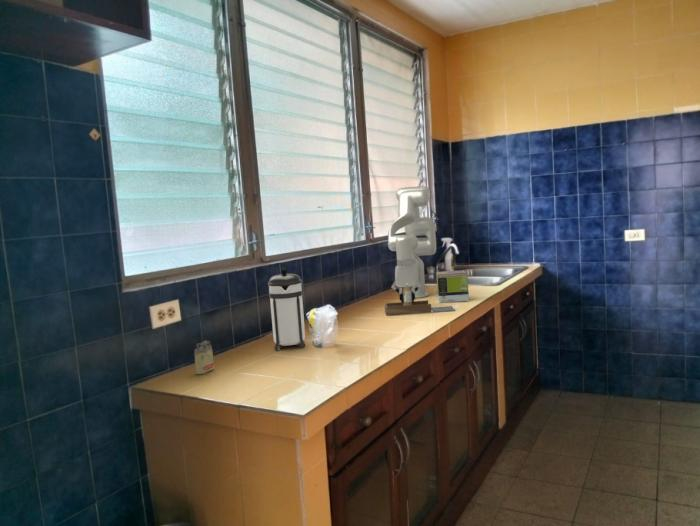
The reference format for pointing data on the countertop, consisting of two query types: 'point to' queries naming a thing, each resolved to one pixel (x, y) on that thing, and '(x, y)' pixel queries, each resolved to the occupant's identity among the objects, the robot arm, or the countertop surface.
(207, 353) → the pale green labeled container
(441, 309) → the mat
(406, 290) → the sprinkles bottle
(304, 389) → the countertop surface
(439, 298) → the tea box
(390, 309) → the walnut lane
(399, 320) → the countertop surface
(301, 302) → the coffee press
